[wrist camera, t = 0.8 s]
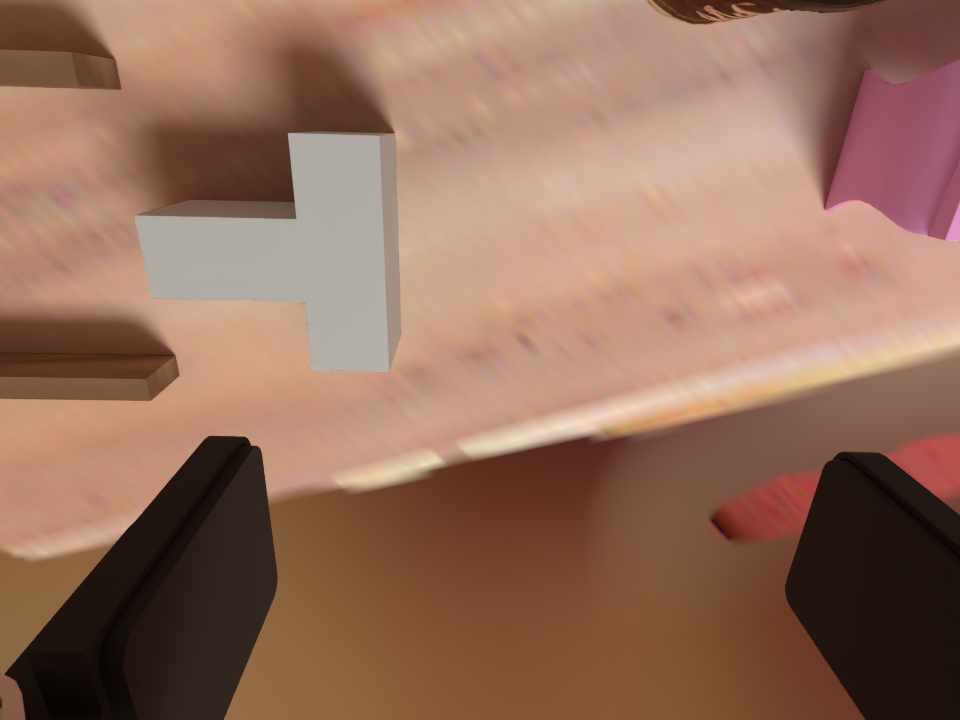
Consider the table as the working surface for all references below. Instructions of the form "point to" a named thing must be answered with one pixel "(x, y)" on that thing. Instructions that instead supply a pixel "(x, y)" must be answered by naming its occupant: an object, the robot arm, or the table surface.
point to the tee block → (298, 248)
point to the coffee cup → (747, 8)
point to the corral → (75, 371)
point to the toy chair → (905, 152)
